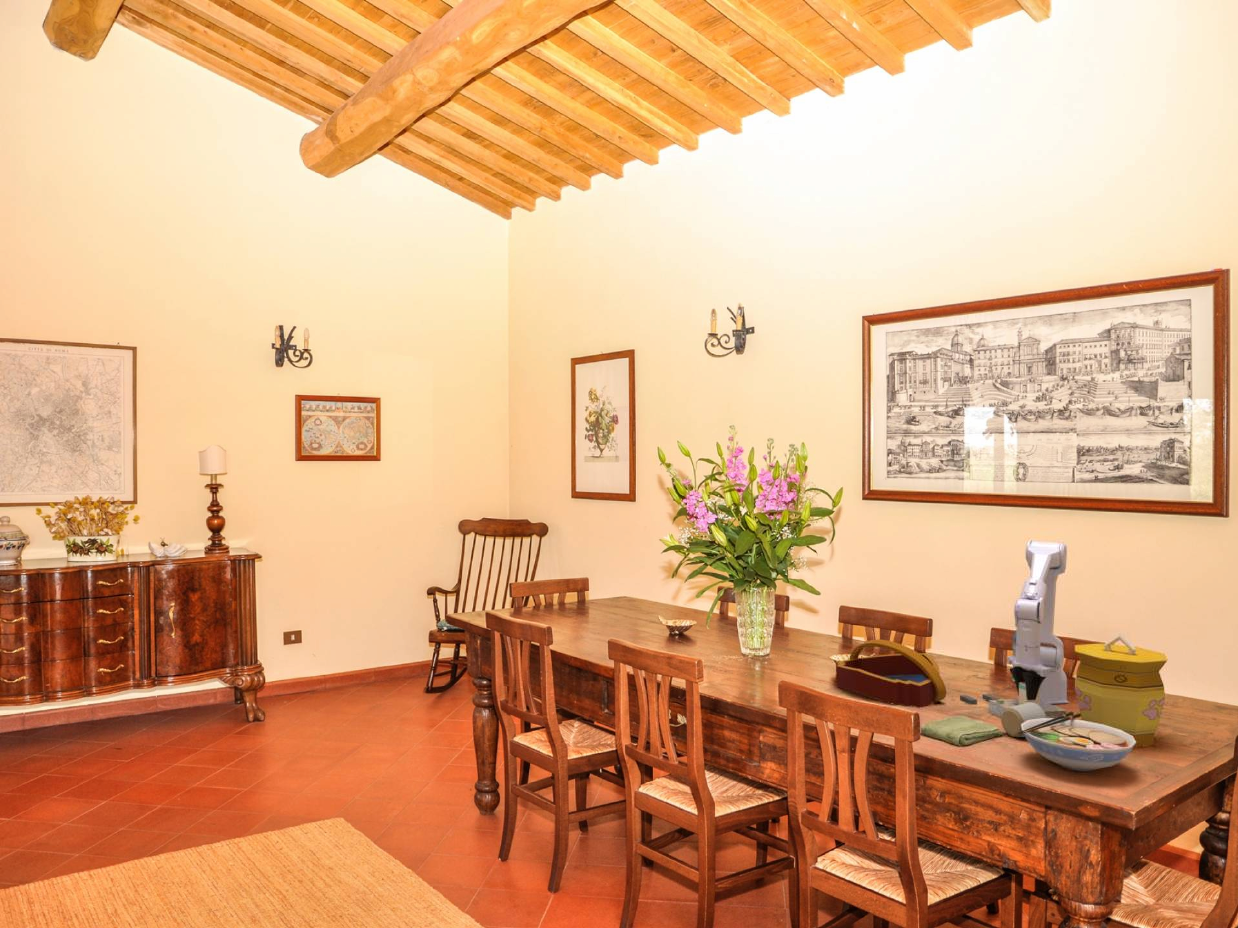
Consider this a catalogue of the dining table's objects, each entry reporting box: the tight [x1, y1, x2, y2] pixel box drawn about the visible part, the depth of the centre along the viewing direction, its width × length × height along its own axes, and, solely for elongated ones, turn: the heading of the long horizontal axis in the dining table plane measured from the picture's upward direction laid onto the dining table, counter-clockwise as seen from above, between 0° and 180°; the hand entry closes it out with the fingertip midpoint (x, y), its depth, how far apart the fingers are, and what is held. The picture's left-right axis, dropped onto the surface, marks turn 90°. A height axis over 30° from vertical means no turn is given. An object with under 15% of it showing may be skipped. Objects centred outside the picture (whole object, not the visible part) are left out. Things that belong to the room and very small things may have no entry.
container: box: [1074, 633, 1168, 748], centre depth 226 cm, size 21×21×25 cm
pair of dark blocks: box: [959, 693, 1000, 705], centre depth 256 cm, size 9×5×1 cm, turn 102°
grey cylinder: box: [1000, 702, 1046, 738], centre depth 224 cm, size 11×8×8 cm
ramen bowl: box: [1017, 711, 1136, 772], centre depth 204 cm, size 25×23×8 cm
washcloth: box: [920, 715, 1004, 747], centre depth 225 cm, size 13×18×3 cm
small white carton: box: [1018, 682, 1040, 706], centre depth 241 cm, size 4×3×6 cm
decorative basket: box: [835, 639, 947, 708], centre depth 266 cm, size 34×29×15 cm
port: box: [988, 698, 1067, 719], centre depth 241 cm, size 14×12×4 cm
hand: (1026, 697), depth 241 cm, fingers closed on small white carton, 3 cm apart
